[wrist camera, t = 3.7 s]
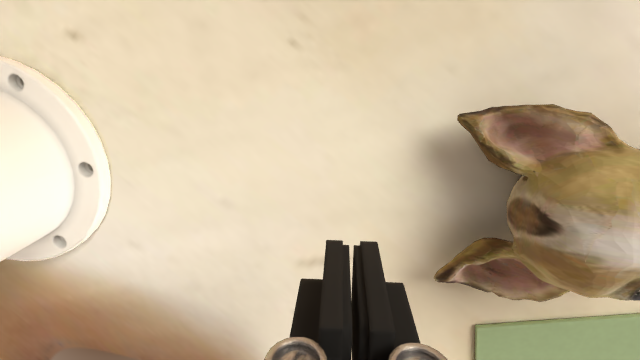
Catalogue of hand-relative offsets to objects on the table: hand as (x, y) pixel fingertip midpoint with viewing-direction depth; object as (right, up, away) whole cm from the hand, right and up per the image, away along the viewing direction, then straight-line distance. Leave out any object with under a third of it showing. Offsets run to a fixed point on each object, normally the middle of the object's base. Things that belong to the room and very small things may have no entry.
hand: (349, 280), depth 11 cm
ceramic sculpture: (+13, +3, +9) cm, 16 cm away
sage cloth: (+16, -10, +12) cm, 22 cm away
